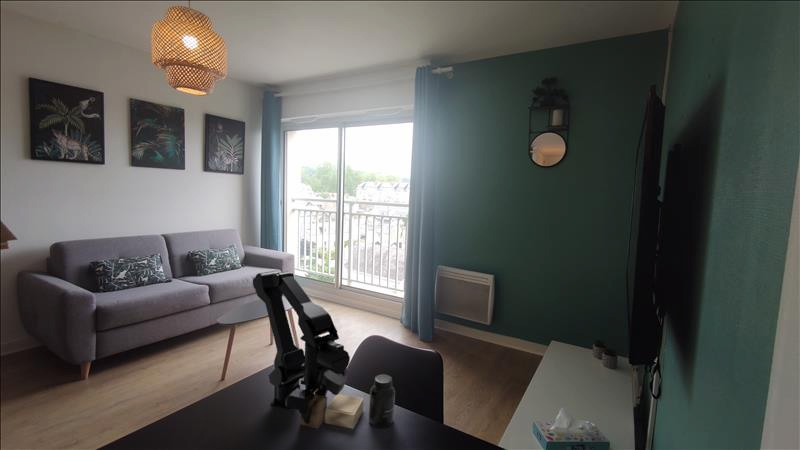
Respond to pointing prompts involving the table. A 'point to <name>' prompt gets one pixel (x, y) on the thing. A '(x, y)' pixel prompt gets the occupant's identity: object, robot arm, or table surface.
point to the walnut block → (317, 412)
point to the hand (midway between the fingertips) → (313, 415)
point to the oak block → (344, 411)
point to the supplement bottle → (382, 401)
